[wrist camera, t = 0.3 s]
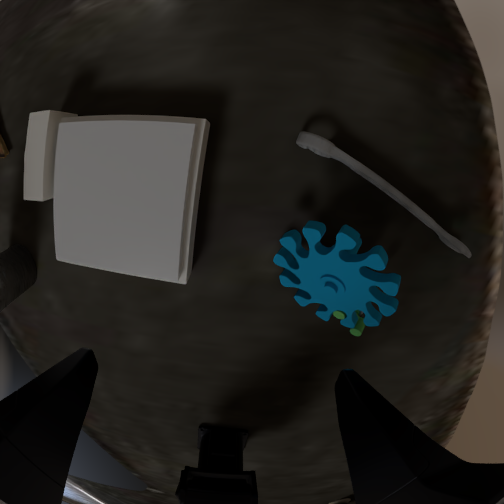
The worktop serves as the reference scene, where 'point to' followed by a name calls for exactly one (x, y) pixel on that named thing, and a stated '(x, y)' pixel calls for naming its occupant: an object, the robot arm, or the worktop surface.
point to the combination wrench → (377, 185)
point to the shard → (3, 148)
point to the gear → (338, 276)
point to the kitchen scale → (119, 188)
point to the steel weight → (15, 273)
